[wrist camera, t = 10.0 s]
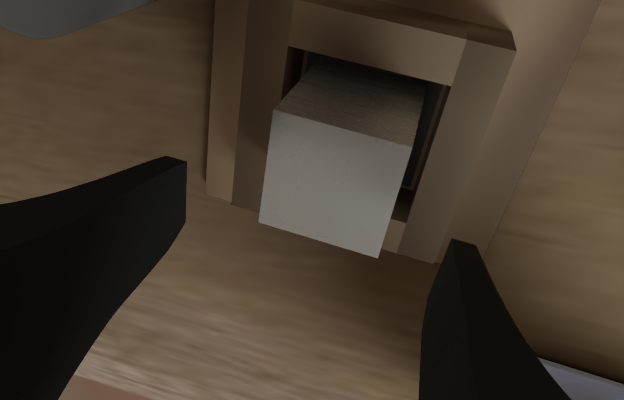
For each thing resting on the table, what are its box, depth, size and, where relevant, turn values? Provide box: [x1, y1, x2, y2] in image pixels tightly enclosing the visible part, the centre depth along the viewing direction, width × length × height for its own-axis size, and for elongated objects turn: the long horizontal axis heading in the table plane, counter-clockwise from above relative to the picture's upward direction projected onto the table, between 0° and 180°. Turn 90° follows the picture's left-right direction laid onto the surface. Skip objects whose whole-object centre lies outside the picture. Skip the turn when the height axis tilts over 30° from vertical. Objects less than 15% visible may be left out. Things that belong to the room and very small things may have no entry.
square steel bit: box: [259, 55, 428, 258], centre depth 18 cm, size 4×4×6 cm
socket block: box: [205, 0, 601, 264], centre depth 19 cm, size 13×12×3 cm
